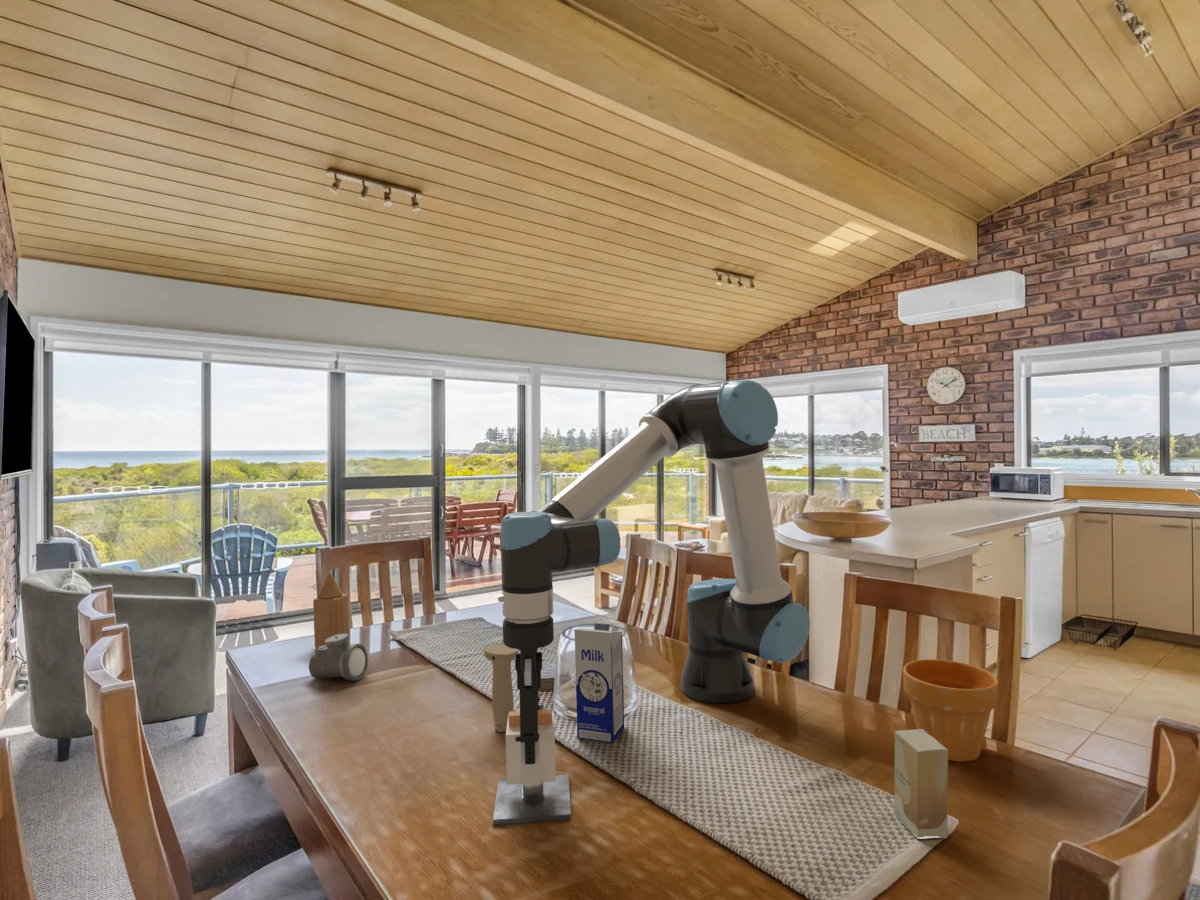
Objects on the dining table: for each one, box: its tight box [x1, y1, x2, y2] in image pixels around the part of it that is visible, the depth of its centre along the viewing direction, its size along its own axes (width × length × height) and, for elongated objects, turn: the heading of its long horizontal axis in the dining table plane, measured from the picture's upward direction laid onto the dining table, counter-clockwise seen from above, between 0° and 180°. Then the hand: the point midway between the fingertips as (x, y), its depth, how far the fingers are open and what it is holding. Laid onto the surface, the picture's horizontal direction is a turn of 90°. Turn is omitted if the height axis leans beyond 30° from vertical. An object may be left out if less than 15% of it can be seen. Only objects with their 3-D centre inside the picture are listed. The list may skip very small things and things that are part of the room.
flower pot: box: [902, 658, 1000, 763], centre depth 111 cm, size 14×14×13 cm
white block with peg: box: [505, 708, 556, 785], centre depth 99 cm, size 7×7×9 cm
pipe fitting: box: [308, 633, 369, 682], centre depth 152 cm, size 12×8×10 cm, turn 76°
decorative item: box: [312, 570, 351, 649], centre depth 176 cm, size 7×7×20 cm
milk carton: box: [573, 622, 625, 744], centre depth 120 cm, size 7×7×20 cm
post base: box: [492, 774, 572, 826], centre depth 99 cm, size 11×11×5 cm
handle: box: [483, 644, 519, 733], centre depth 123 cm, size 5×6×15 cm
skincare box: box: [893, 728, 949, 839], centre depth 90 cm, size 6×4×12 cm
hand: (531, 769), depth 99 cm, fingers closed on white block with peg, 7 cm apart
